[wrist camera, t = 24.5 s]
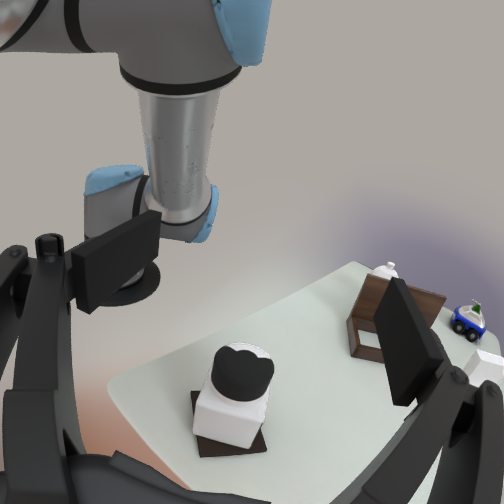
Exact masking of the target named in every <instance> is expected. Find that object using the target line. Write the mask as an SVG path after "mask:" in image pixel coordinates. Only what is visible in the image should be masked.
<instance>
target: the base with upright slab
mask: <svg viewBox="0 0 504 504" xmlns="http://www.w3.org/2000/svg"><path fill="white" fill-rule="evenodd" d="M462 370H463V371H464V372H465V373H466V374H467V376H468V378H469V384H471V385H473V386H476V387H478V388H479V386H480V385H481V384H482V383H483V382H484V381H485V380H490V381H492V382H494V383H496V384H497V385H498V384H499V383H500V382H501V380H502V379H503V378H504V357H501V356H497V355H494V354H491V353H488V352H484V351H481V350H478V349H477V350H476V351H475V353H474V354H473V356H472V357H471V359H470V360H469V361H468V363H467V364H466V366H465V367H464V368H463V369H462Z"/></svg>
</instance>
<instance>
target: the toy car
mask: <svg viewBox="0 0 504 504" xmlns="http://www.w3.org/2000/svg"><path fill="white" fill-rule="evenodd" d="M472 301H474V302H475V303H477V304H476V305H475V306H462V307H461V306H459V307H457V308H456V309H455V311H454V313H453V315H452V317H451V320H452V323H454V322H455V324H454V331H455V332H456V333H458V334H460V333H462V332H463V331H464V329H465V328H466V329H467V330H468V334H467V339H468V340H469V341H470V342H474V341H476V340H477V339H479V340H480V339H481V337H482V335H483V333H484V332H485V331H486V324H485V321H484V318H483V315H482V313H481V311H480V306H481V304H480V302H477V301H475V300H474V299H472ZM478 335H479V338H478Z"/></svg>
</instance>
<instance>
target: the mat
mask: <svg viewBox="0 0 504 504" xmlns="http://www.w3.org/2000/svg"><path fill="white" fill-rule="evenodd" d="M200 392H201V391H191V399H192V407H193V414H195V407H196V401H197V399H198V396H199V394H200ZM197 441H198V447H199V453H200V457H216V456H231V455H242V454H251V453H259V452H266V451H267V448H266V444H265V441H264V438H263V435H262V432H261V429H260V430H259V432H258V434H257V436H256V438H255V440H254V442H253V444H252V446H251V447H250V448H249V449H246V448H242V447H238V446H234V445H230V444H226V443H223V442H219V441H216V440H212V439H209V438H205V437H202V436H199V435H197Z"/></svg>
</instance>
